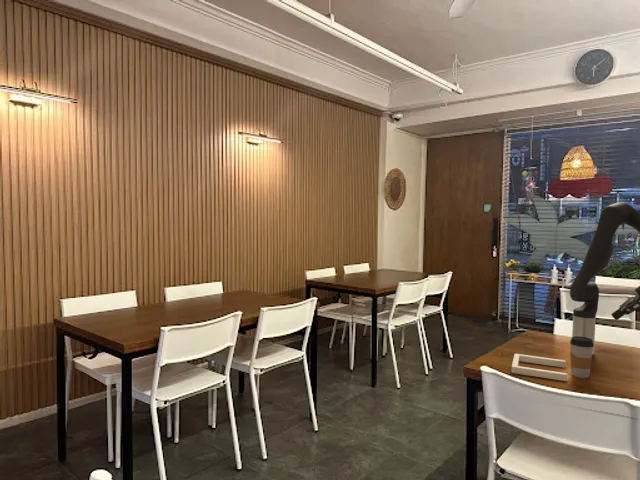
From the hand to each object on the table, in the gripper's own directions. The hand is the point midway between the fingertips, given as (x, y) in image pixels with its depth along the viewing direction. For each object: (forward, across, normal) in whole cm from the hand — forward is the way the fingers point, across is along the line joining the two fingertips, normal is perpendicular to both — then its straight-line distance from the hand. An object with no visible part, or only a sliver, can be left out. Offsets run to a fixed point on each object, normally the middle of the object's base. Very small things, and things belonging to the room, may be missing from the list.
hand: (613, 317), depth 183 cm
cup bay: (+36, +5, -2) cm, 36 cm away
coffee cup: (+25, +5, +9) cm, 27 cm away
